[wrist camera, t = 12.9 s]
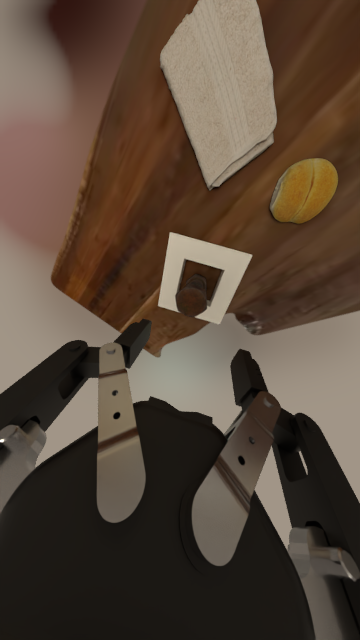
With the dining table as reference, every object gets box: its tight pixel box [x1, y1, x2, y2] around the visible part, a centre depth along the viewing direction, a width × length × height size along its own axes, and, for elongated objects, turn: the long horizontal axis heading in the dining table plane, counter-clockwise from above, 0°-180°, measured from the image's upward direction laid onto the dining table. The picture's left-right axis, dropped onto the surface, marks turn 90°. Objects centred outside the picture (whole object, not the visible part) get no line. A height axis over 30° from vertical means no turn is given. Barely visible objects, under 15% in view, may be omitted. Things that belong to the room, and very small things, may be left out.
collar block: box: [158, 232, 252, 324], centre depth 33 cm, size 17×17×4 cm
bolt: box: [175, 274, 207, 317], centre depth 29 cm, size 6×5×15 cm
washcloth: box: [160, 0, 277, 191], centre depth 21 cm, size 12×18×3 cm, turn 32°
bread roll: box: [270, 158, 338, 224], centre depth 23 cm, size 8×9×4 cm
